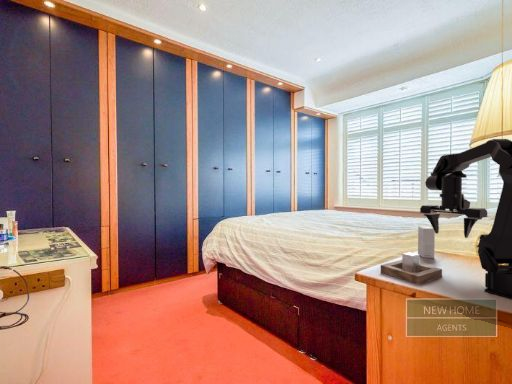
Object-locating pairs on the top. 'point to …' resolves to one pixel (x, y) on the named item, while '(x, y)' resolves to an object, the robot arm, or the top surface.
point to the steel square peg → (410, 262)
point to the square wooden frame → (423, 276)
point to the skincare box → (426, 241)
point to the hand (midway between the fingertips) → (450, 235)
